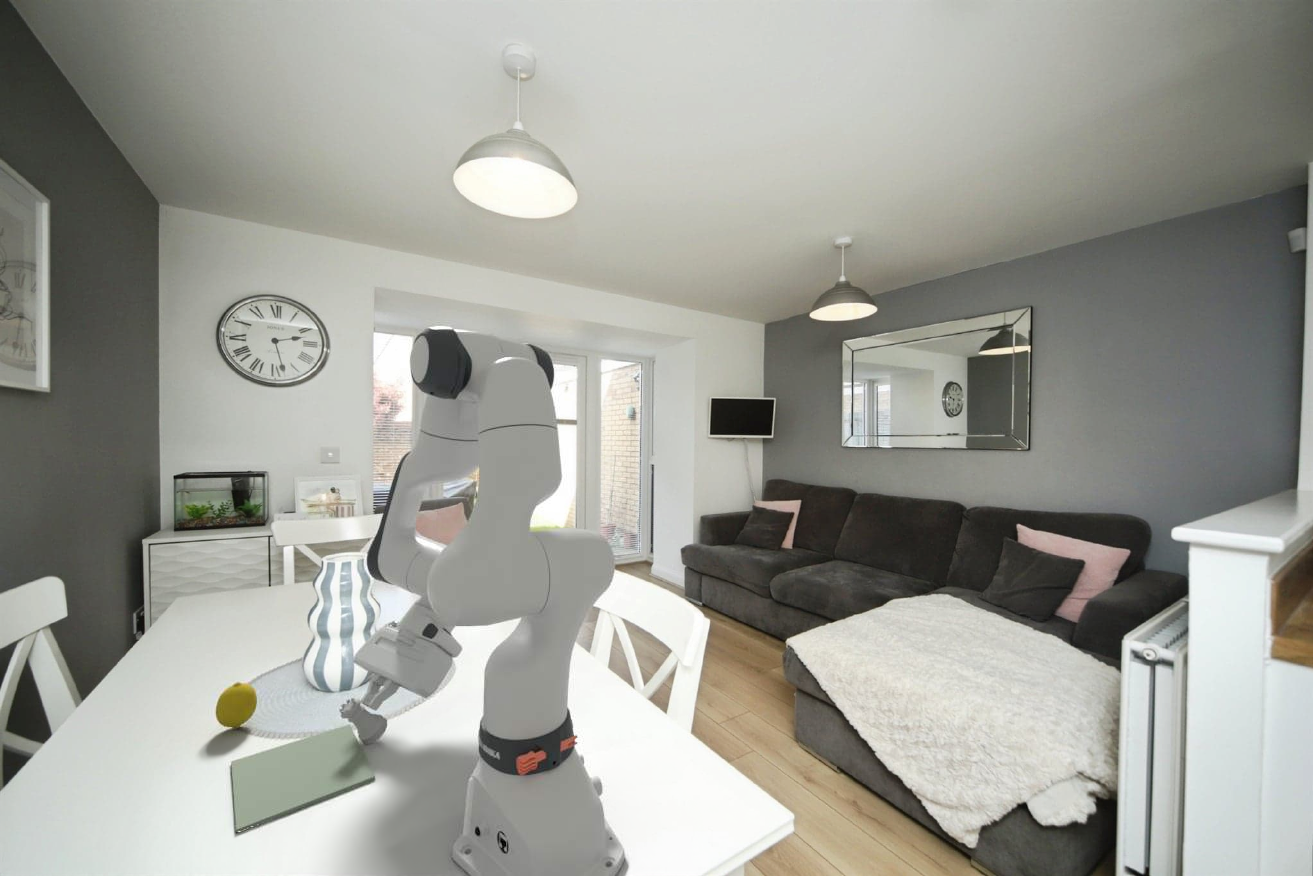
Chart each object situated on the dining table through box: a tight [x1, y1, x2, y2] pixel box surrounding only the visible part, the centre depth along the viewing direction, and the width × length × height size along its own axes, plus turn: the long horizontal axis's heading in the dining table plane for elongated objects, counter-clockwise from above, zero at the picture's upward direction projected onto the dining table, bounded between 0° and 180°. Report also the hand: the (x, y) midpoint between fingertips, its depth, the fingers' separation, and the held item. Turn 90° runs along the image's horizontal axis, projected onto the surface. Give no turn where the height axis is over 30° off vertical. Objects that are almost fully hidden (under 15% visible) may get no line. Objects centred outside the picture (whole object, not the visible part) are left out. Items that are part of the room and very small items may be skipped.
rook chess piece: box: [339, 697, 388, 745], centre depth 83 cm, size 4×4×8 cm
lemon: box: [215, 681, 258, 730], centre depth 87 cm, size 6×6×8 cm
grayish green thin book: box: [230, 724, 376, 833], centre depth 76 cm, size 18×16×1 cm
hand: (367, 706), depth 84 cm, fingers closed
